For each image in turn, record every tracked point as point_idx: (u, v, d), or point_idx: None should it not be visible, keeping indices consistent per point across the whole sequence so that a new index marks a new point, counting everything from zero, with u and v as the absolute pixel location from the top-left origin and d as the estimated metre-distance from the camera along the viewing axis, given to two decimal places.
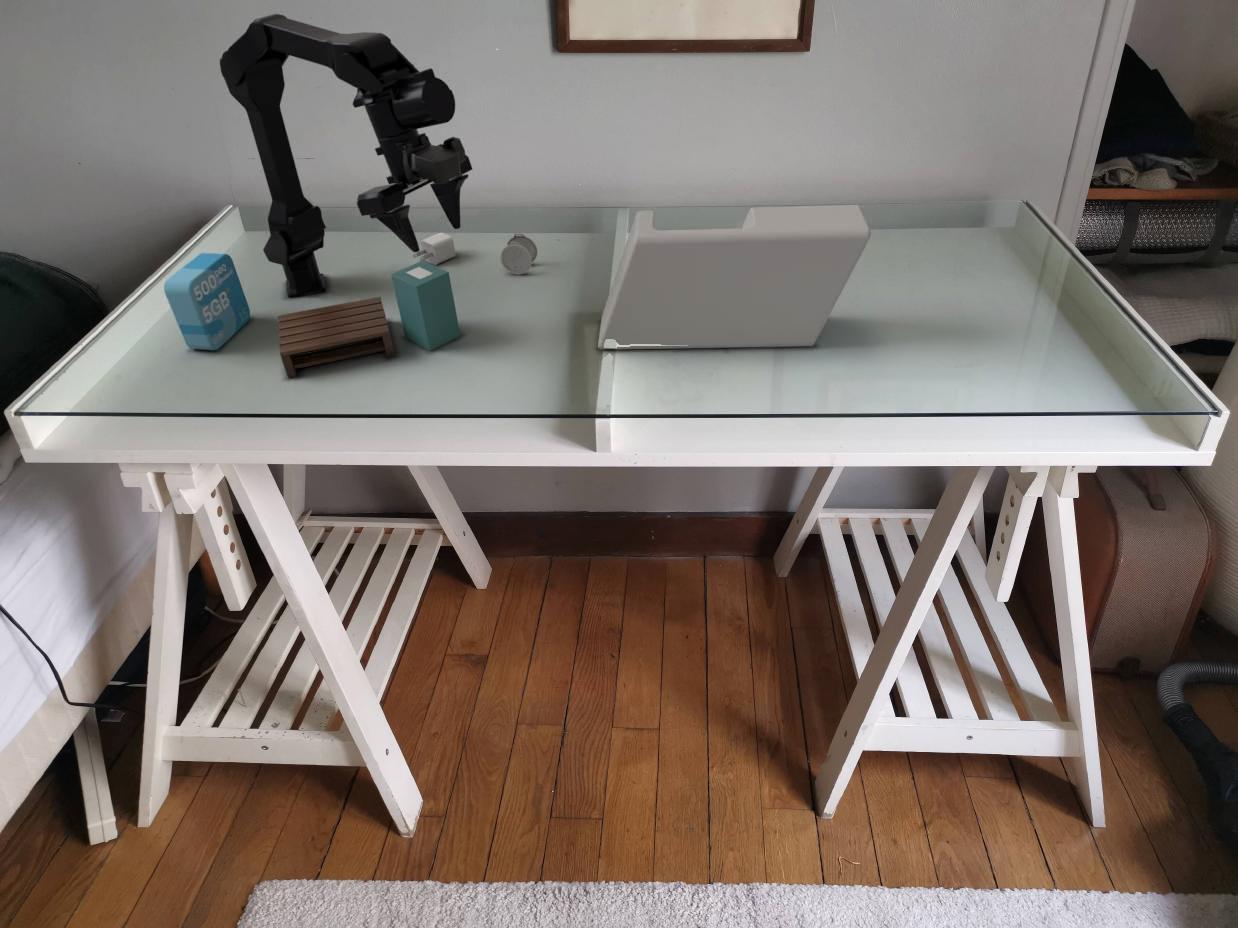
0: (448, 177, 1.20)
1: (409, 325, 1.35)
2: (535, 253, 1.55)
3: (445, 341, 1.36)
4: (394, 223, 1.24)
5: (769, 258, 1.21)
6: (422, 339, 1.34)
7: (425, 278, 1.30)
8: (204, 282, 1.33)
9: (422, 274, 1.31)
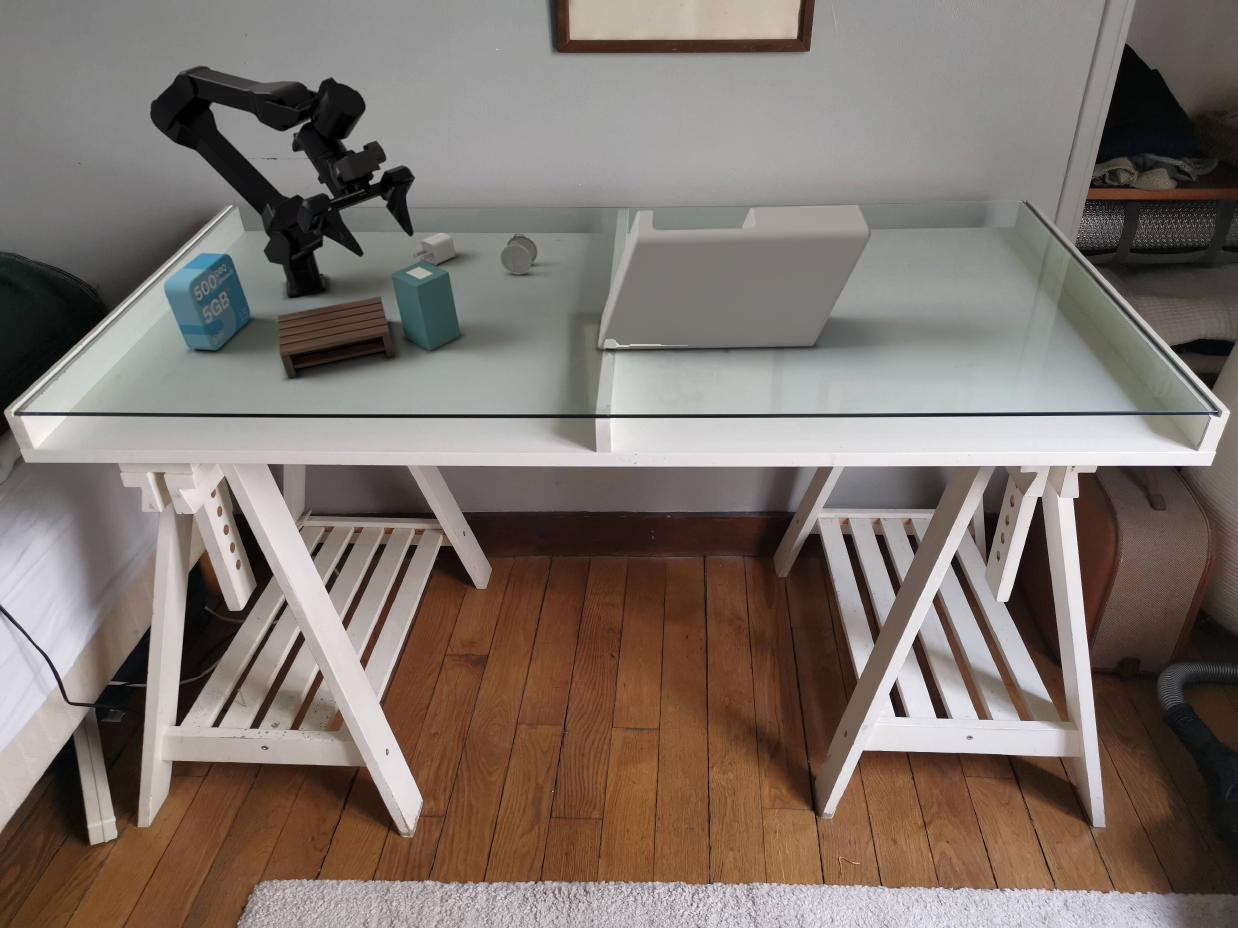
0: (362, 170, 1.27)
1: (409, 325, 1.35)
2: (535, 253, 1.55)
3: (445, 341, 1.36)
4: (336, 233, 1.31)
5: (769, 258, 1.21)
6: (422, 339, 1.34)
7: (425, 278, 1.30)
8: (204, 282, 1.33)
9: (422, 274, 1.31)
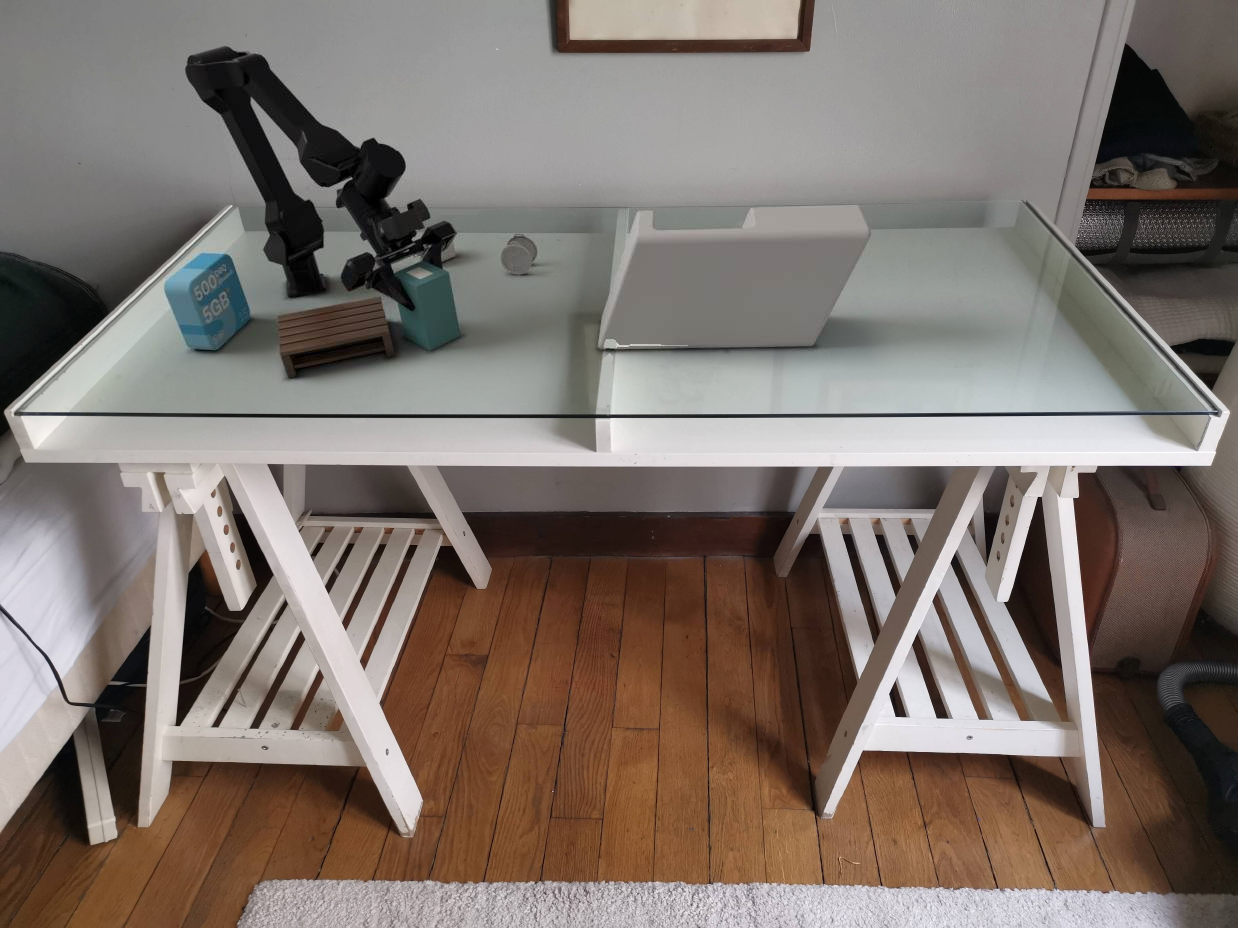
0: (407, 230, 1.26)
1: (409, 325, 1.35)
2: (535, 253, 1.55)
3: (445, 341, 1.36)
4: (388, 288, 1.31)
5: (769, 258, 1.21)
6: (422, 339, 1.34)
7: (425, 278, 1.30)
8: (204, 282, 1.33)
9: (422, 274, 1.31)
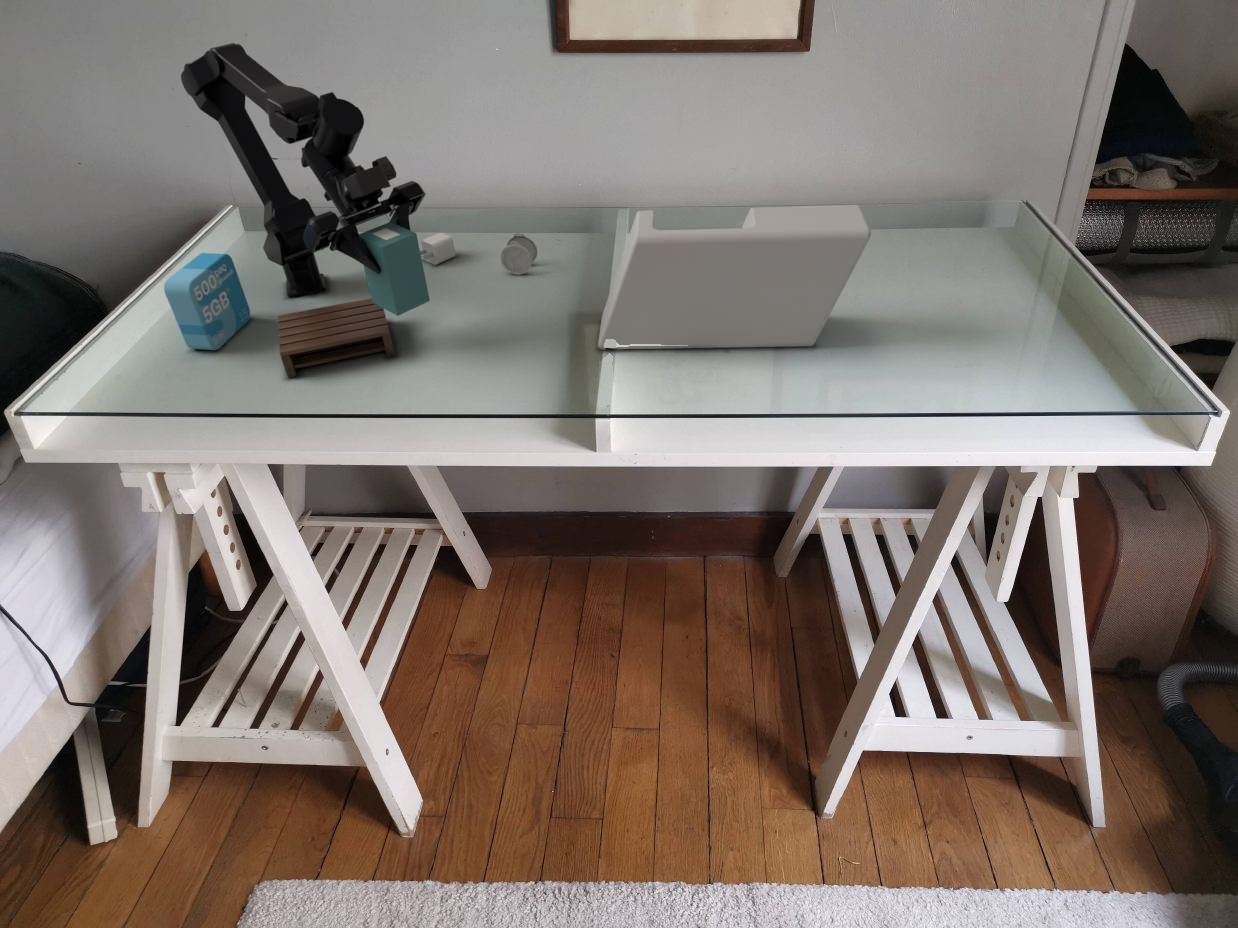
0: (372, 188, 1.21)
1: (376, 289, 1.30)
2: (535, 253, 1.55)
3: (413, 306, 1.31)
4: (353, 249, 1.26)
5: (769, 258, 1.21)
6: (390, 303, 1.30)
7: (392, 239, 1.25)
8: (204, 282, 1.33)
9: (388, 235, 1.26)
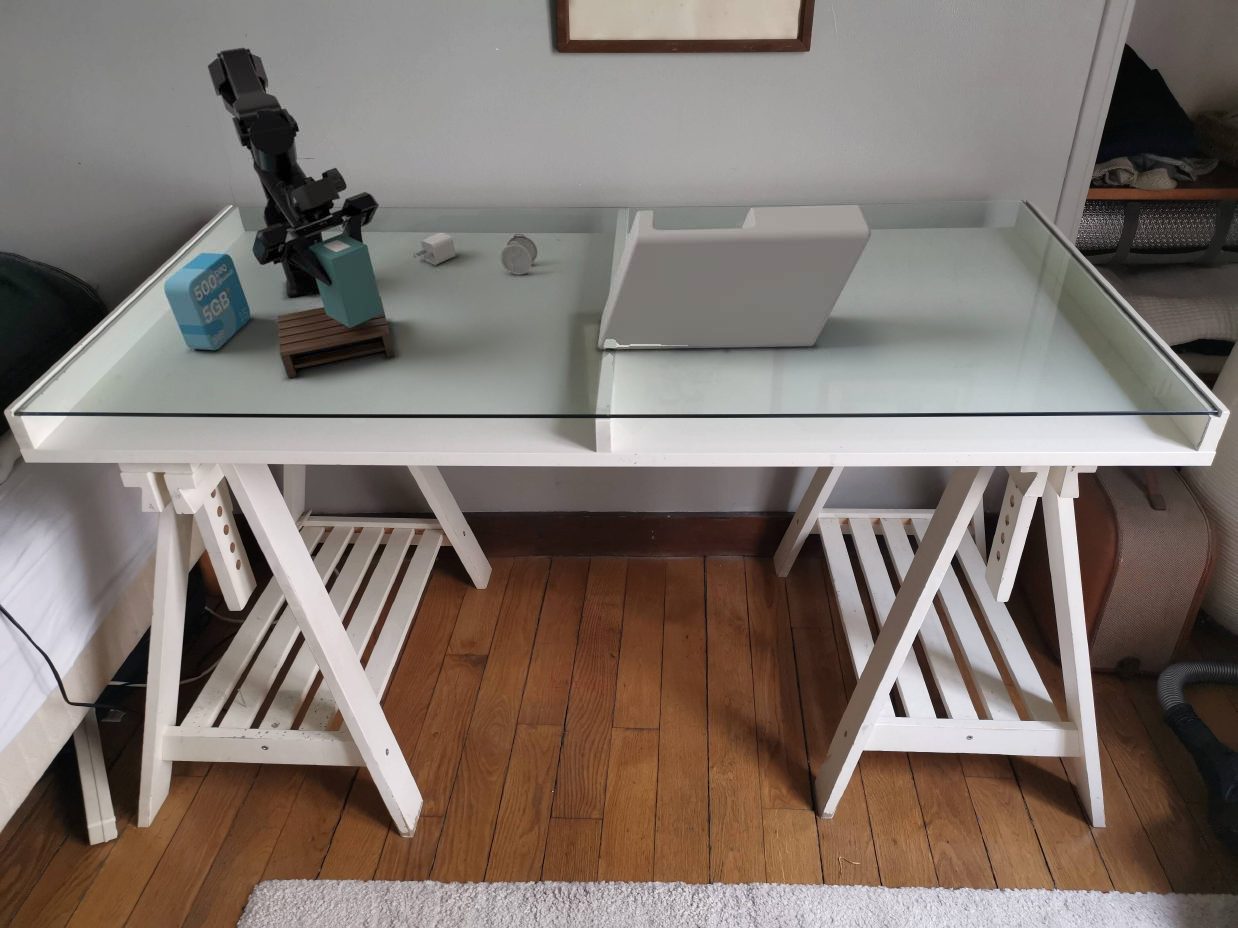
0: (320, 200, 1.20)
1: (328, 301, 1.29)
2: (535, 253, 1.55)
3: (366, 318, 1.30)
4: (303, 261, 1.25)
5: (769, 258, 1.21)
6: (341, 315, 1.29)
7: (342, 251, 1.24)
8: (204, 282, 1.33)
9: (339, 247, 1.25)
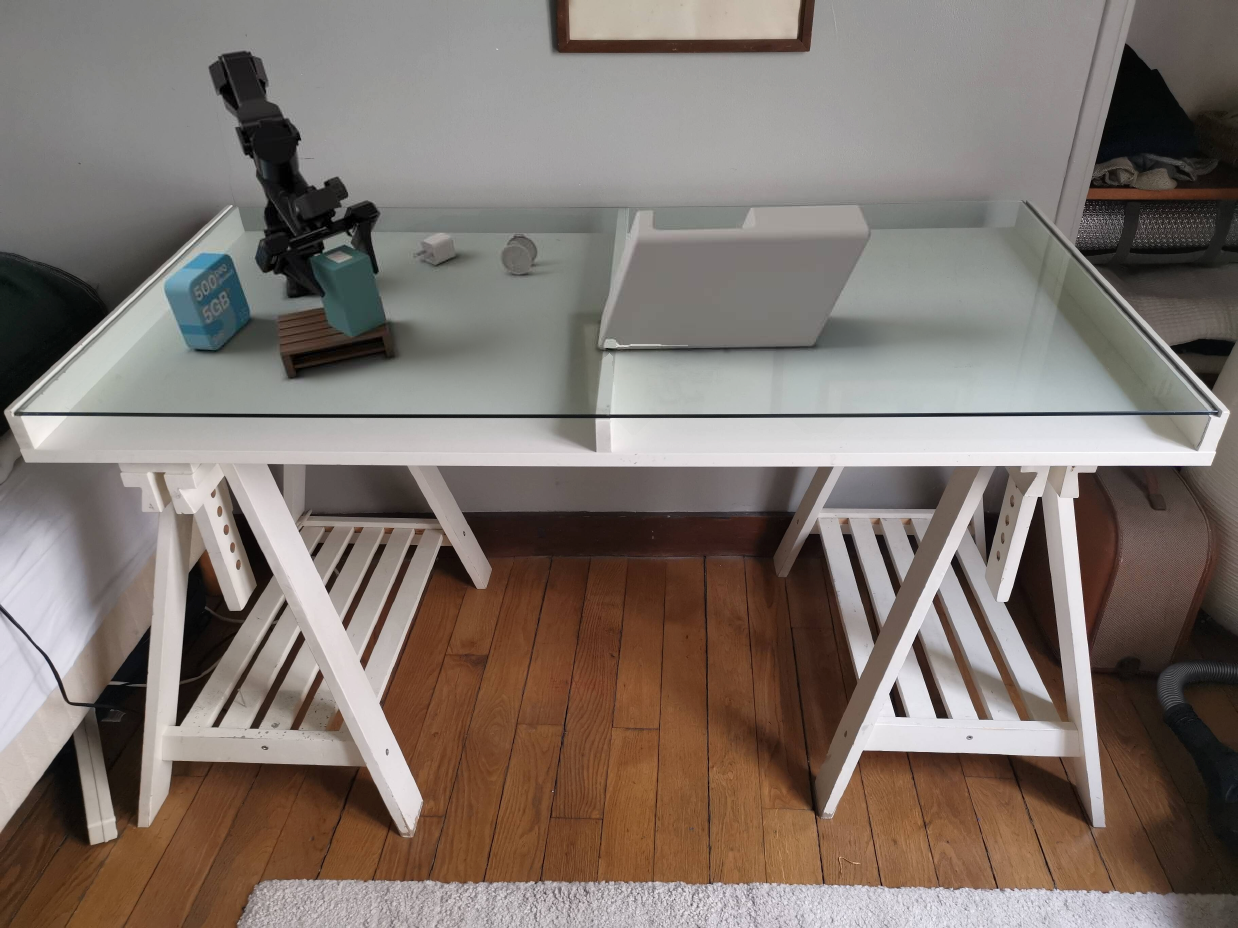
0: (322, 208, 1.21)
1: (331, 311, 1.30)
2: (535, 253, 1.55)
3: (369, 328, 1.31)
4: (296, 273, 1.25)
5: (769, 258, 1.21)
6: (344, 325, 1.30)
7: (344, 262, 1.25)
8: (204, 282, 1.33)
9: (341, 258, 1.26)
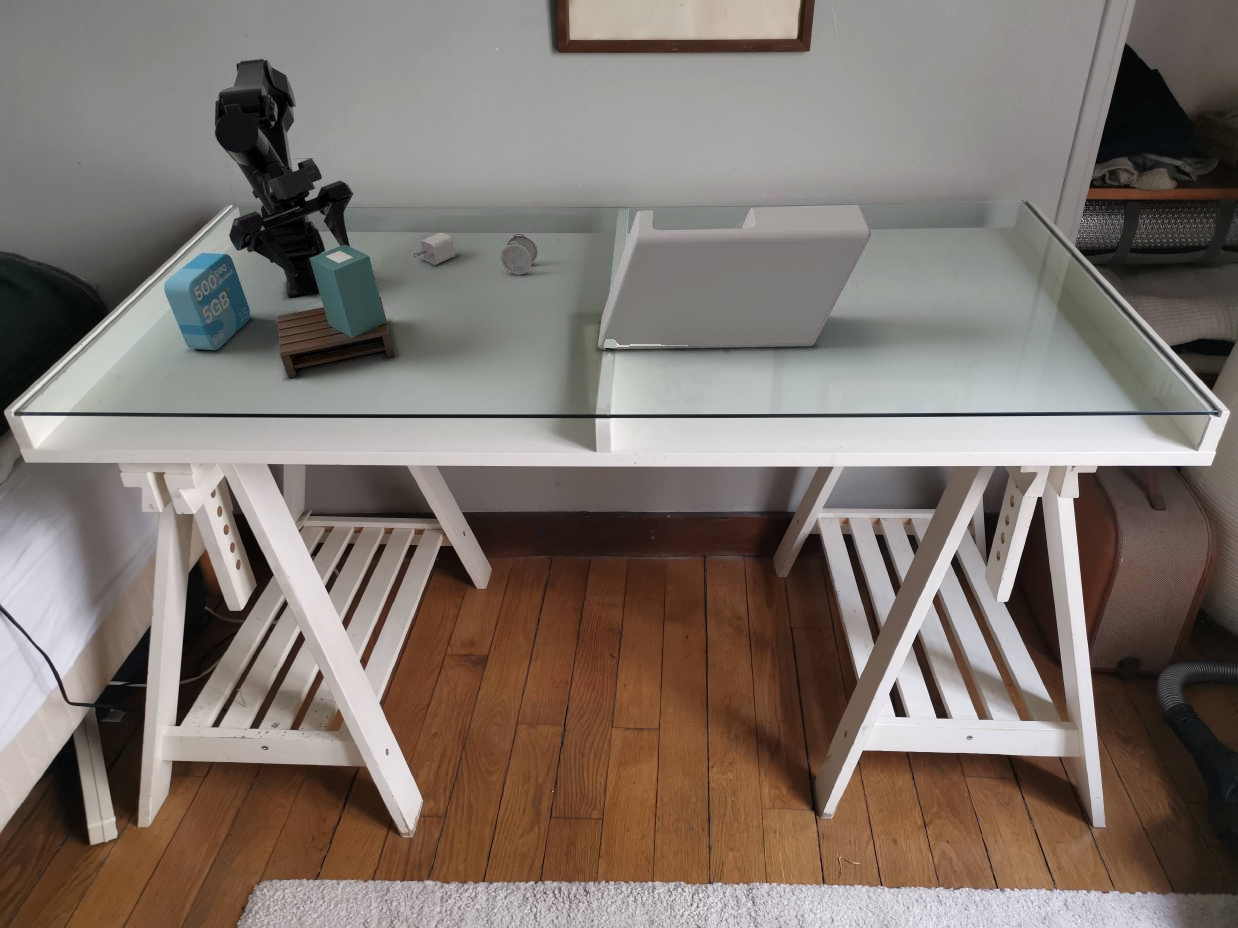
0: (295, 191, 1.24)
1: (331, 311, 1.30)
2: (535, 253, 1.55)
3: (369, 328, 1.31)
4: (270, 252, 1.29)
5: (769, 258, 1.21)
6: (344, 325, 1.30)
7: (344, 262, 1.25)
8: (204, 282, 1.33)
9: (341, 258, 1.26)
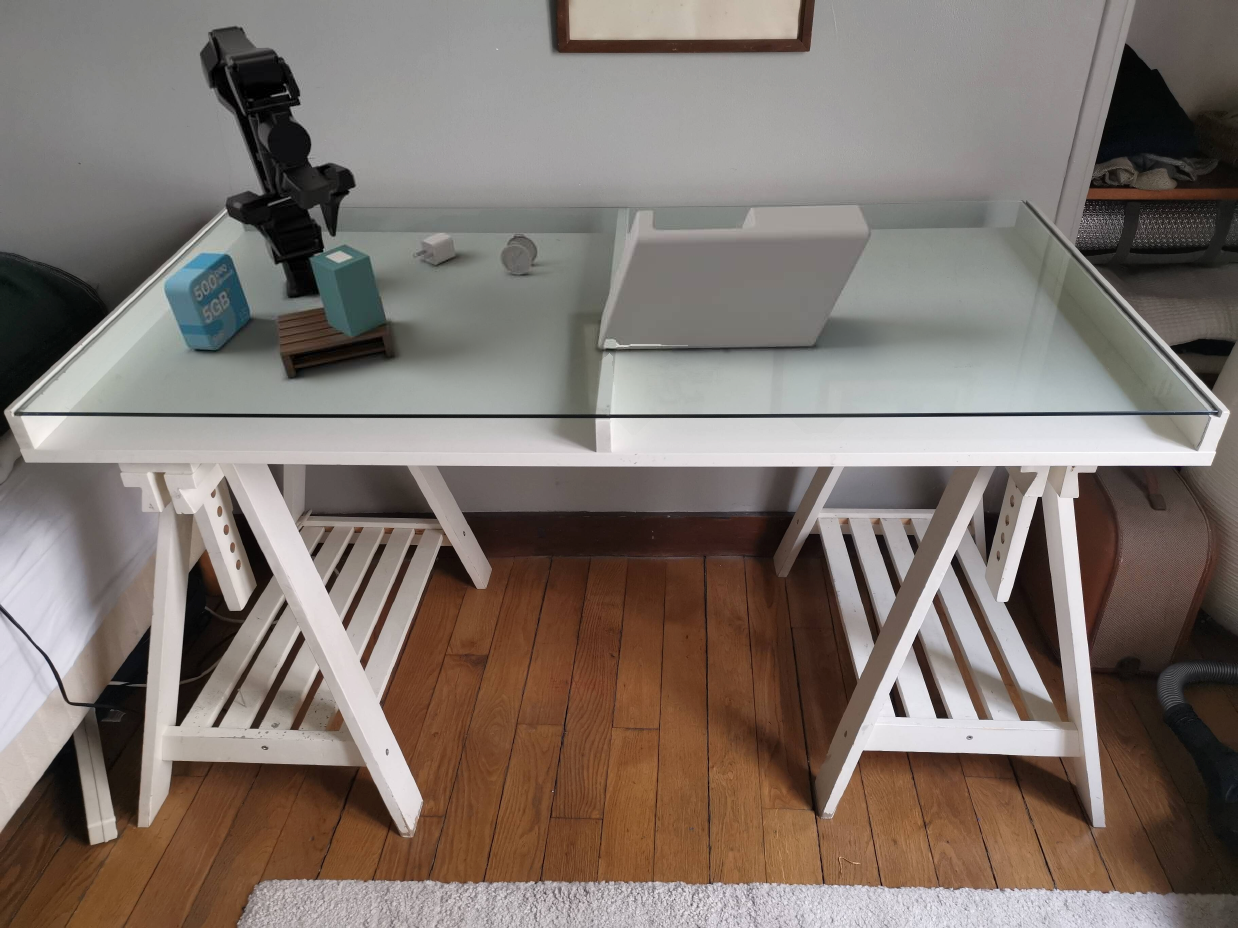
0: (313, 204, 1.26)
1: (331, 311, 1.30)
2: (535, 253, 1.55)
3: (369, 328, 1.31)
4: (261, 227, 1.30)
5: (769, 258, 1.21)
6: (344, 325, 1.30)
7: (344, 262, 1.25)
8: (204, 282, 1.33)
9: (341, 258, 1.26)
